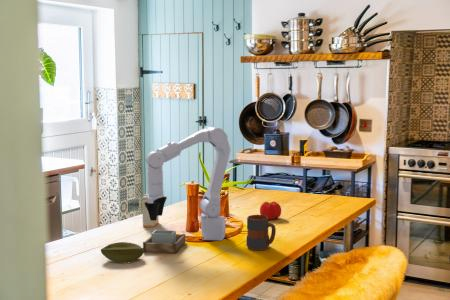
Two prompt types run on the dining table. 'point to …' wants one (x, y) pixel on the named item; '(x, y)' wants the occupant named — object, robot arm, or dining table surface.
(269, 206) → the tomato
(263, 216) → the mug
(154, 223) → the supplement box
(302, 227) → the dining table surface
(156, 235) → the grey crate
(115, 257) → the fruit
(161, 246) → the walnut crate
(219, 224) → the robot arm
